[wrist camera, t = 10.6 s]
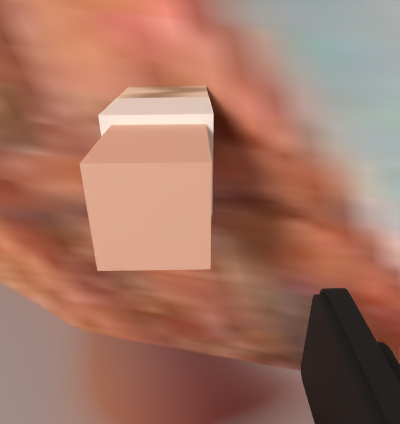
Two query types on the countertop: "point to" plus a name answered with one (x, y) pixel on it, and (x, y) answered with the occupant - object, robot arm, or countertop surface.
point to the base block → (165, 92)
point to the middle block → (161, 115)
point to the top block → (150, 197)
